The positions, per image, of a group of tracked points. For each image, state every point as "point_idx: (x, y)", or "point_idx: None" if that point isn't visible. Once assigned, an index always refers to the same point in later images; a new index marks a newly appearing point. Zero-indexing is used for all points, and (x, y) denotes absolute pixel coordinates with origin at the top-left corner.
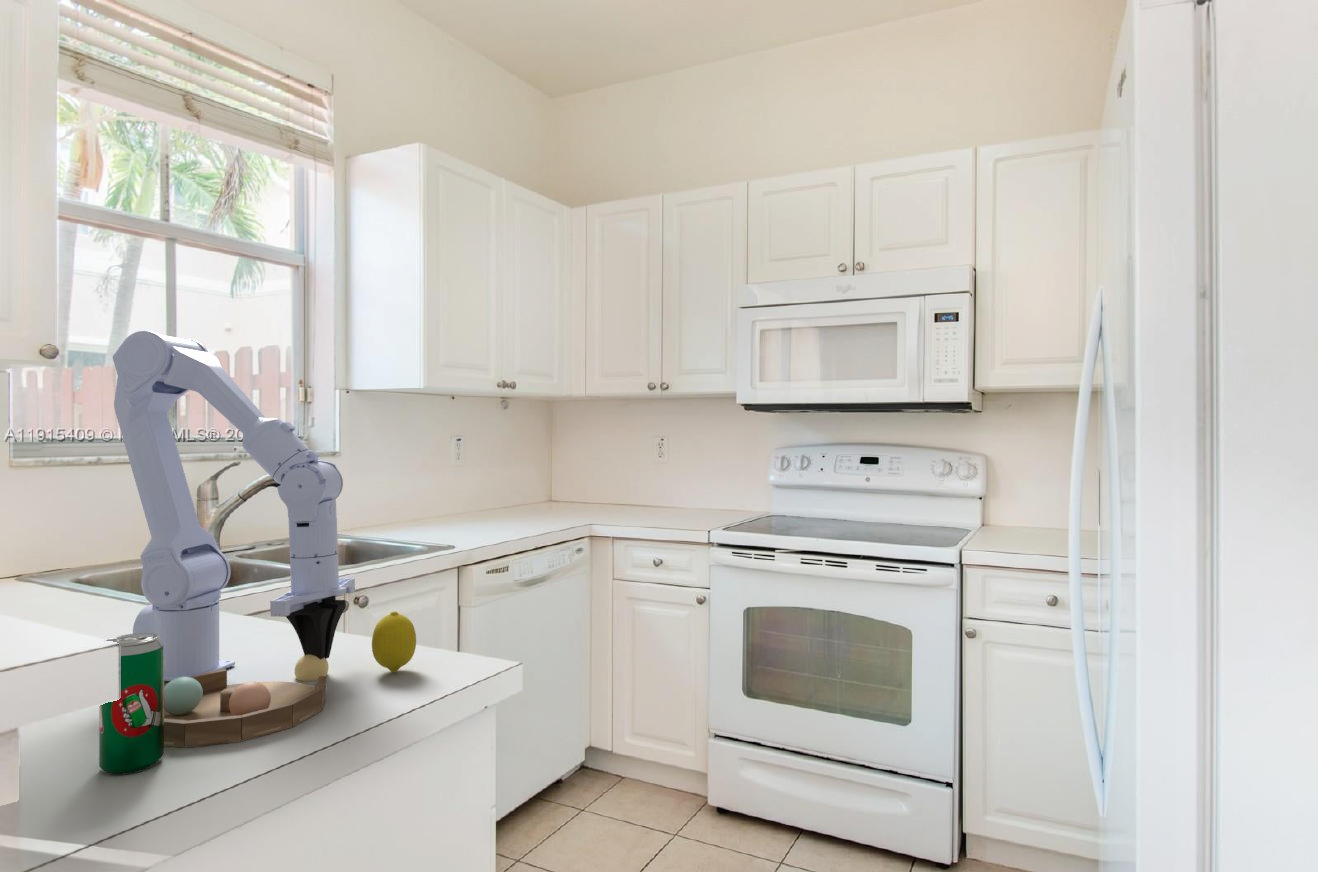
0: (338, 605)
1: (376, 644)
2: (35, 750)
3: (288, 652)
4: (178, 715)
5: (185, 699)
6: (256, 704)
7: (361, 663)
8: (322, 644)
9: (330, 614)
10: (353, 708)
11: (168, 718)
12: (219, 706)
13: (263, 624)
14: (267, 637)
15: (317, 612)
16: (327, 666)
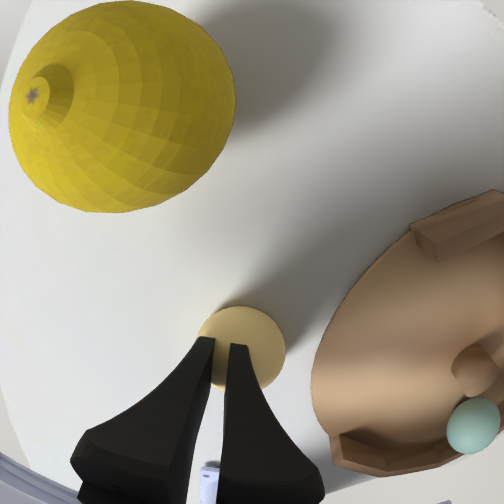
0: (160, 471)
1: (218, 149)
2: (496, 438)
3: (101, 422)
4: None
5: (497, 407)
6: None
7: (107, 260)
8: (246, 374)
9: (223, 455)
10: (482, 118)
11: None
12: (449, 384)
13: (31, 456)
14: (62, 451)
15: (323, 492)
16: (230, 317)
